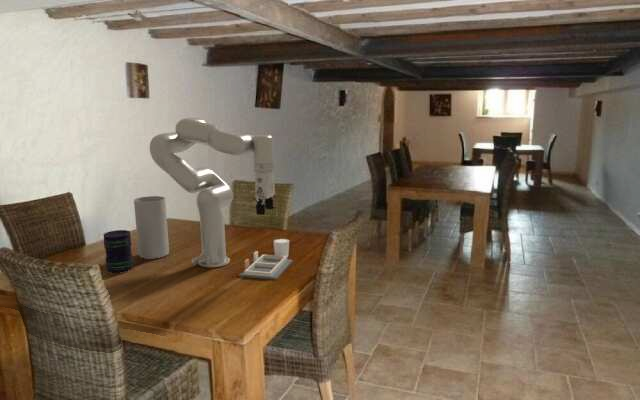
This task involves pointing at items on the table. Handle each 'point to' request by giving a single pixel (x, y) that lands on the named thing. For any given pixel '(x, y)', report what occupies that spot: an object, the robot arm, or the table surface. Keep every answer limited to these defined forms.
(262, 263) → the well board
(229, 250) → the table surface
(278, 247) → the shot glass
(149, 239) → the cylinder vase
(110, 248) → the storage jar
